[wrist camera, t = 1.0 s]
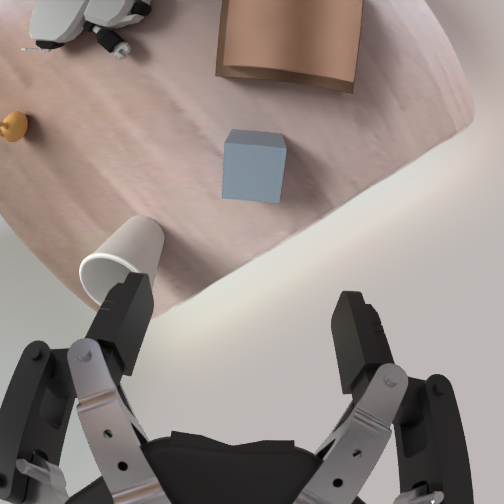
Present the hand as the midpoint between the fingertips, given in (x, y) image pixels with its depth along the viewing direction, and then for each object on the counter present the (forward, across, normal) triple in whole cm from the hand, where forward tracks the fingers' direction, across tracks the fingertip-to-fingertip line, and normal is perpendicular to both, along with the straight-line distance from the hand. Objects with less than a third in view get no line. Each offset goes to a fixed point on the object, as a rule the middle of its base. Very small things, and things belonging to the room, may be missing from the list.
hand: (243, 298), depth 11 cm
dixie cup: (+20, +13, +11) cm, 27 cm away
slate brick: (+20, 0, 0) cm, 20 cm away
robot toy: (+20, +18, -18) cm, 33 cm away
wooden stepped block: (+20, -2, -14) cm, 25 cm away
